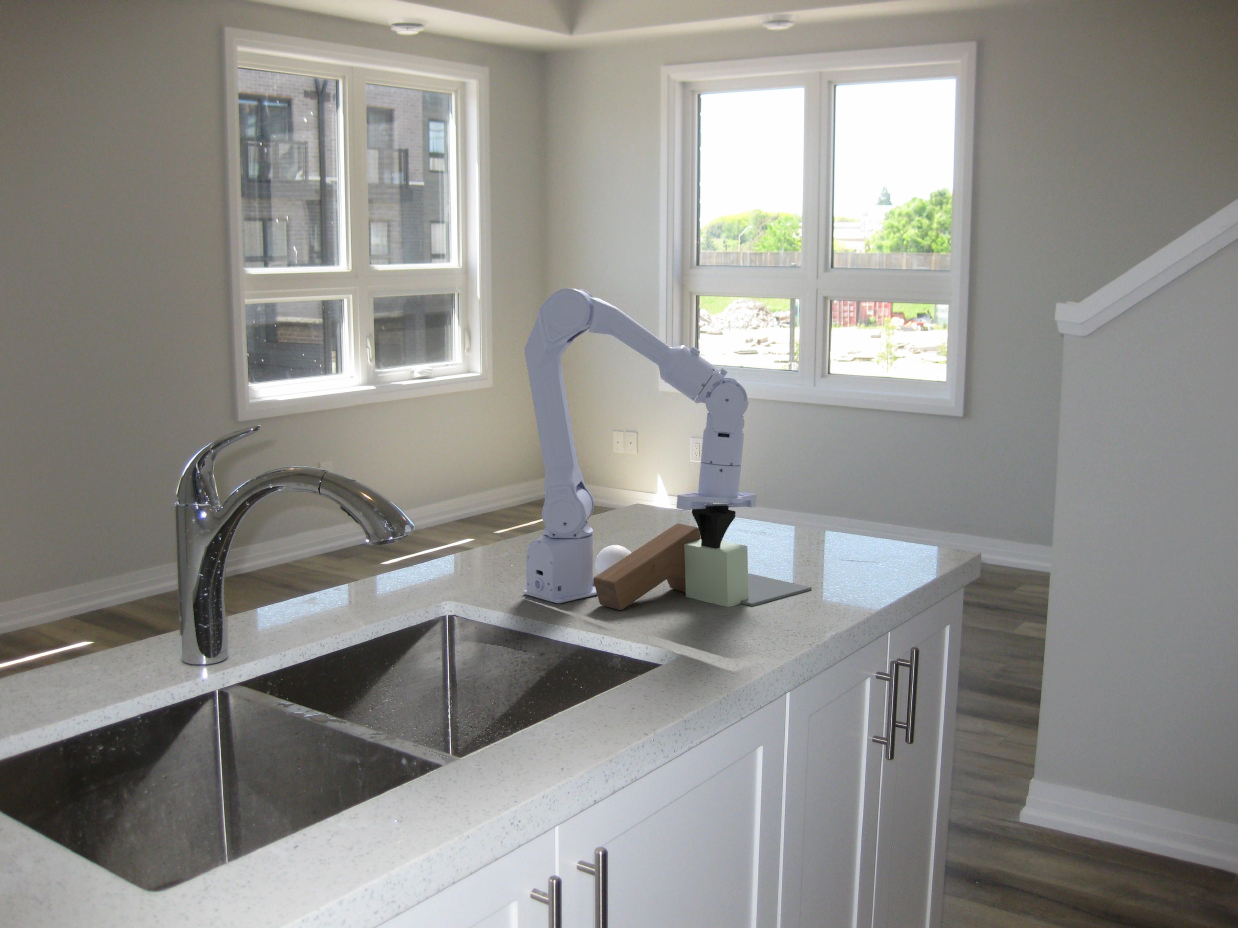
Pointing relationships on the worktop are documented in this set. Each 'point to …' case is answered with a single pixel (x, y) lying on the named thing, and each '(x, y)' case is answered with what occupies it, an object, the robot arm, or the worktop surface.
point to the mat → (770, 589)
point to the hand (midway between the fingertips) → (712, 558)
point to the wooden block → (646, 568)
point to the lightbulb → (610, 557)
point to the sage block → (716, 573)
